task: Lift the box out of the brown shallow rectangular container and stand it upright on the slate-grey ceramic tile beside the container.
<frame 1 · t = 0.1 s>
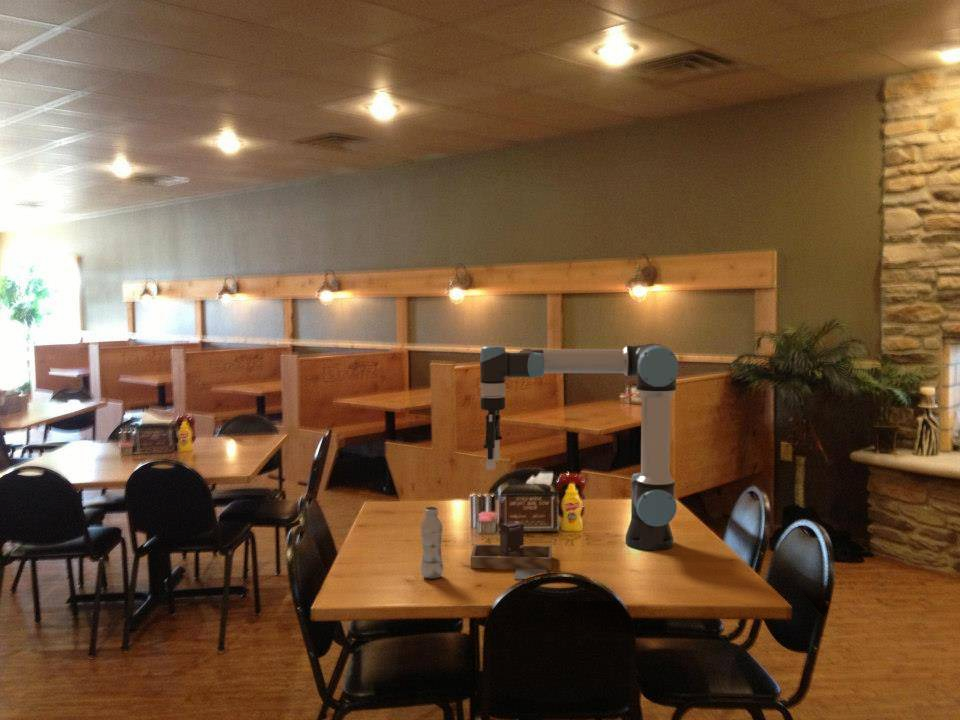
hand: (493, 465, 267), 28 cm above the table, fingers open, 13 cm apart
tile: (530, 574, 249), on the table
brown shallow rectangular container: (511, 562, 260), on the table
box: (511, 563, 260), resting in brown shallow rectangular container
plastic bottle: (432, 578, 248), on the table
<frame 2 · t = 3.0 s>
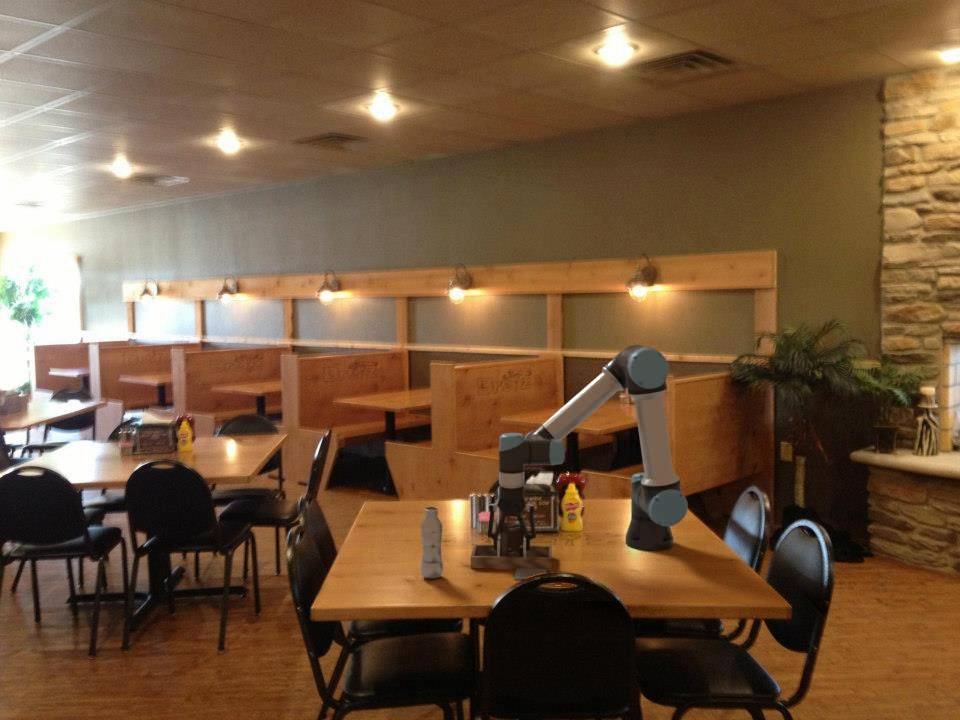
hand: (511, 560, 260), 1 cm above the table, fingers closed on box, 7 cm apart
box: (512, 563, 260), resting in brown shallow rectangular container, touching gripper
everything else where it was.
when the fingers open (2 cm above the table, at t = 8.9 s): box drops 1 cm, resting on tile.
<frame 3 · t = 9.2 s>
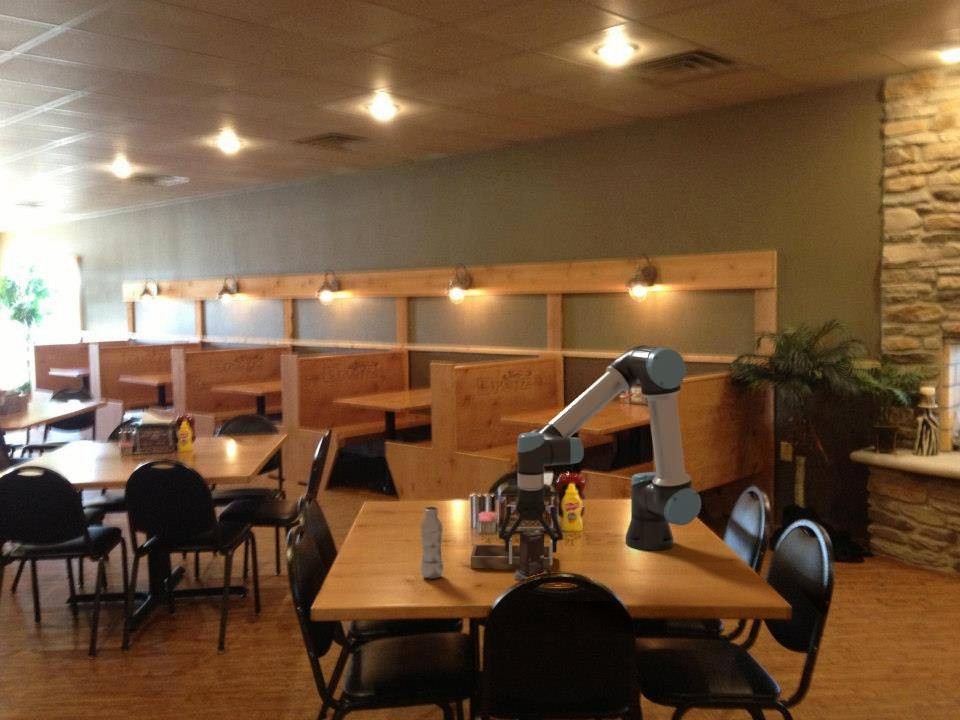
hand: (530, 563, 249), 3 cm above the table, fingers open, 11 cm apart
box: (531, 574, 249), resting on tile
everything else where it was.
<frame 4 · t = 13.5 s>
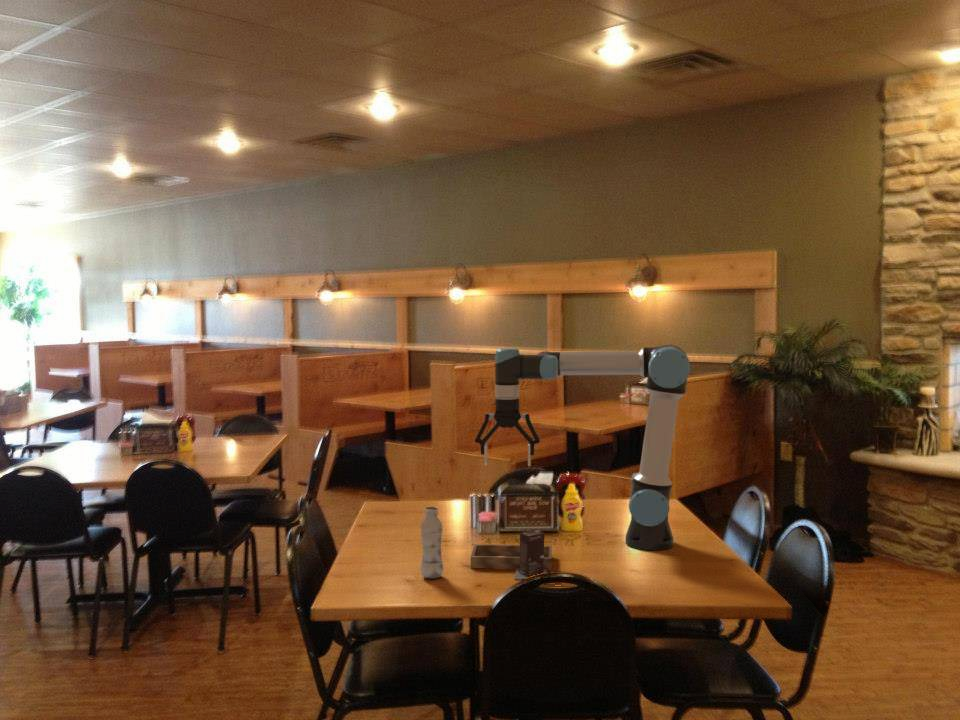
hand: (507, 465, 272), 27 cm above the table, fingers open, 13 cm apart
nothing on the table moved.
at the end: box inside the target area on the tile (0.3 cm from its centre), point 0.2 cm above the tile's base; box tilted 0°; the gripper is holding nothing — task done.
